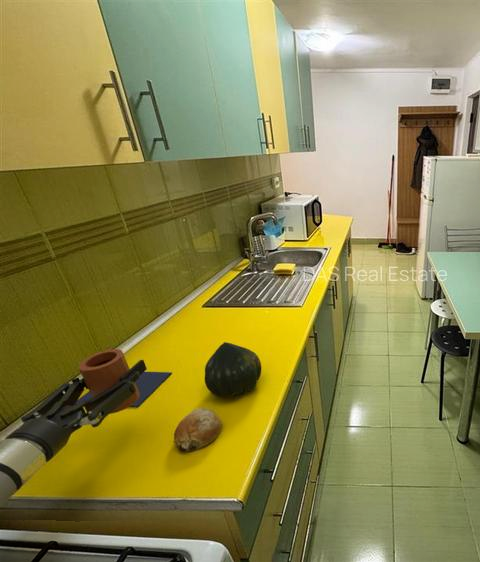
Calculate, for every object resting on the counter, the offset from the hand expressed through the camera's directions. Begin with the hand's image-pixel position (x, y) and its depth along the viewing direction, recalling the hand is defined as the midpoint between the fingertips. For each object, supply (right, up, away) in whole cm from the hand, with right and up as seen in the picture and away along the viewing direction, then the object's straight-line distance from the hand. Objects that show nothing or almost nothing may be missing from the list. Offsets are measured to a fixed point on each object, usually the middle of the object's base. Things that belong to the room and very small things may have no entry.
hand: (126, 364), depth 72 cm
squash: (+18, -12, +18) cm, 28 cm away
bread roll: (+16, -18, +3) cm, 24 cm away
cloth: (-15, -12, +18) cm, 27 cm away
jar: (0, -8, -2) cm, 8 cm away
